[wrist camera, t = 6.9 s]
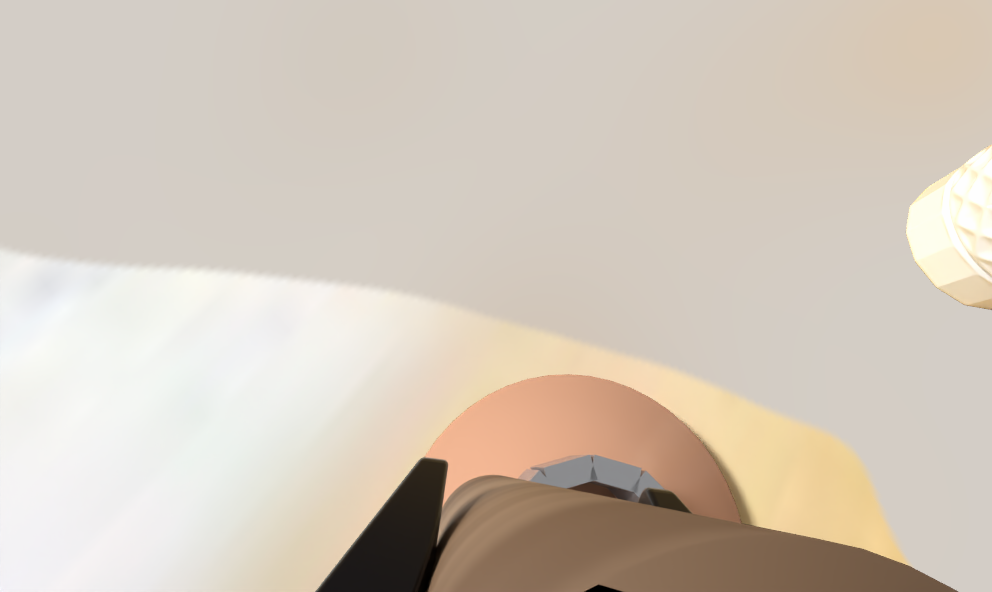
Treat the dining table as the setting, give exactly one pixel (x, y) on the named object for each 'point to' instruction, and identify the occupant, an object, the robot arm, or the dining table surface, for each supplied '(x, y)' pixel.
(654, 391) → the dining table surface
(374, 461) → the dining table surface
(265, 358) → the dining table surface
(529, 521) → the walnut dowel
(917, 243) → the white cup
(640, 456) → the dowel holder
